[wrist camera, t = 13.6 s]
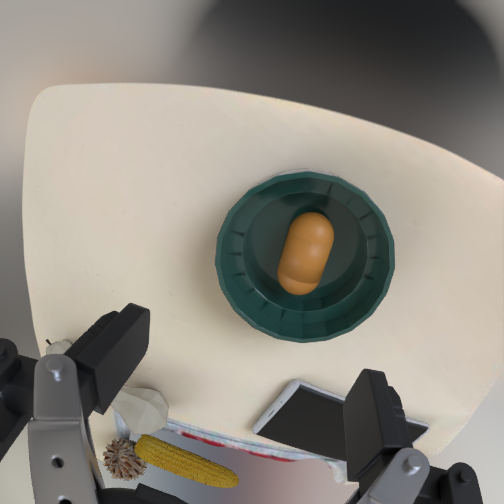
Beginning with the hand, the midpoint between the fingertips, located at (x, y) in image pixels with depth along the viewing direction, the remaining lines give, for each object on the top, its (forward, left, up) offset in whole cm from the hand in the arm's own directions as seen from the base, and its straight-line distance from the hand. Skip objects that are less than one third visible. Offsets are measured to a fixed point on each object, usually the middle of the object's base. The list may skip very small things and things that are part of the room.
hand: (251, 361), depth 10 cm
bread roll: (0, +3, -22) cm, 22 cm away
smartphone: (+15, +30, -22) cm, 41 cm away
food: (+43, +20, -22) cm, 53 cm away
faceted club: (+37, -2, -22) cm, 43 cm away
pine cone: (+58, +13, -22) cm, 64 cm away
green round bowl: (0, +3, -22) cm, 22 cm away
